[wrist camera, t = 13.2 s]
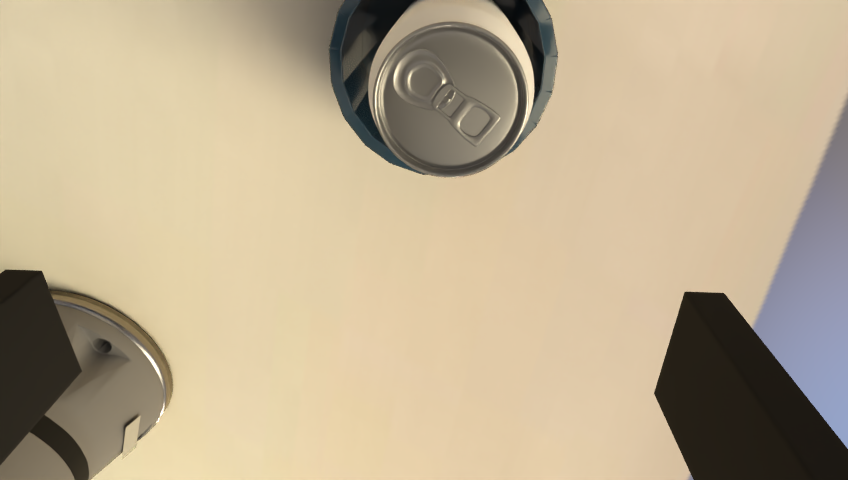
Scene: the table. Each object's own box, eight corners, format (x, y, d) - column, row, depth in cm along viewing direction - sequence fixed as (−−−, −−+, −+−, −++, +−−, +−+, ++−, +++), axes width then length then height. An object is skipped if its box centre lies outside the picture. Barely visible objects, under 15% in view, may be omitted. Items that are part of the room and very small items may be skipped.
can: (442, -45, 27) (432, -37, 17) (536, 36, 29) (580, 89, 18) (372, 59, 30) (326, 121, 19) (461, 127, 32) (463, 218, 21)
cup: (357, 131, 33) (336, 171, 27) (349, -62, 28) (321, -63, 22) (526, 138, 32) (540, 179, 27) (550, -57, 27) (574, -57, 22)
